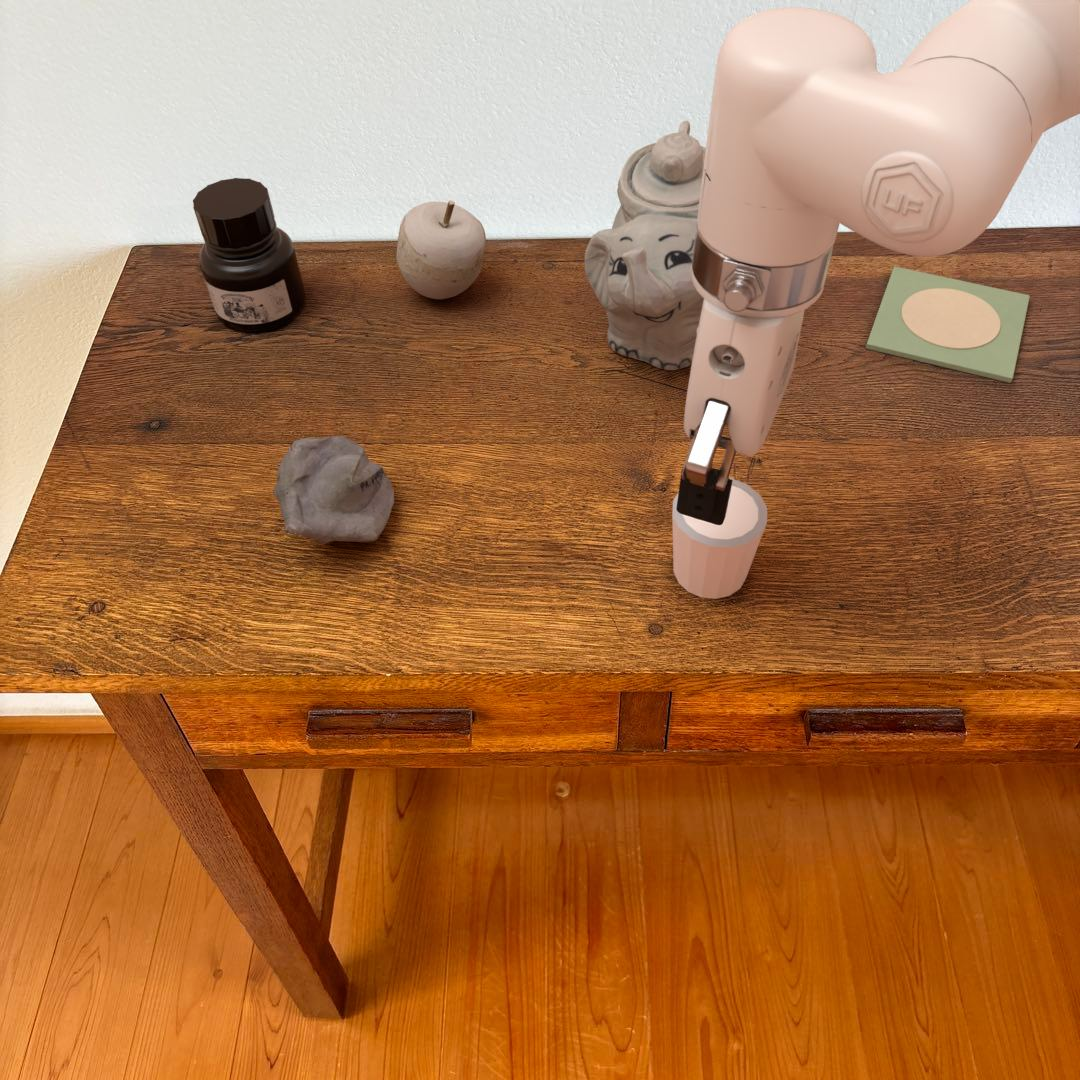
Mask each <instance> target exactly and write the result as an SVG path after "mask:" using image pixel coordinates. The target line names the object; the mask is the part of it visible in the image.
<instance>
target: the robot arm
mask: <svg viewBox="0 0 1080 1080" xmlns="http://www.w3.org/2000/svg"><path fill="white" fill-rule="evenodd" d="M877 68H878V62H877V52H876V49H875V46H874V44H873V42H872V39H871V37H870V35H868V33H866V31H865V30H864V29H863V28H862V27H861V26H860V25H858V24H857V23H856V22H854V21H852V20H850V19H848V18H847V17H845V16H842V15H840V14H837V13H834V12H831V11H828V10H822V9H818V8H809V7H799V6H798V7H796V6H795V7H793V6H791V7H777V8H770V9H766V10H762V11H758V12H756V13H753V14H751V15H749V16H747V17H745V18H744V19H741V21H739V22H738V23H736V24H735V25H734V26H733V27H732V28H731V29H730V30H729V32H727V35H726V36H725V37H724V40H723V42H722V44H721V46H720V48H719V51H718V54H717V60H716V65H715V71H714V80H713V88H712V96H711V103H710V111H709V121H708V126H707V127H708V128H707V136H706V144H705V148H706V152H705V160H704V168H703V176H702V184H701V192H700V200H699V209H698V217H697V224H696V233H695V241H694V249H693V257H692V265H691V280H692V283H693V285H694V287H695V288H696V290H697V292H698V293H699V294H700V295H701V296H702V297H703V298H704V300H703V306H702V311H701V316H700V321H699V326H698V328H697V337H696V342H695V348H694V353H693V359H692V364H690V371H689V378H688V383H687V391H686V398H685V405H684V414H683V431H684V434H685V436H686V437H687V438H688V440H690V442H689V447H688V450H687V454H686V457H685V461H684V464H683V467H682V469H681V472H680V479H679V487H678V492H679V493H678V492H677V494H678V500H677V507H676V510H677V511H678V512H679V513H680V514H683V515H686V516H689V517H693V518H695V519H699V520H702V521H706V522H709V523H712V524H715V525H722V524H723V522H724V519H725V517H726V512H727V507H728V502H729V497H730V492H731V487H732V482H733V480H731V479H729V478H730V474H731V471H732V469H733V465H734V462H735V461H734V460H735V457H736V454H739V455H743V456H746V457H753V456H755V455H756V454H757V453H759V452H760V451H761V449H762V448H763V446H764V444H765V442H766V439H767V436H768V434H769V433H770V430H771V427H772V425H773V422H774V421H775V418H776V415H777V413H778V411H779V408H780V406H781V404H782V400H783V398H784V396H785V393H786V392H787V389H788V385H789V383H790V381H791V377H792V376H793V375H792V374H793V371H794V368H795V363H796V357H797V353H798V347H799V342H800V336H801V331H802V326H803V321H804V315H805V311H806V310H807V309H809V308H810V307H811V306H813V305H815V303H816V302H817V301H818V300H819V299H820V297H821V296H822V294H823V292H824V289H825V285H826V284H825V283H826V280H827V276H828V271H829V268H830V264H831V260H832V256H833V252H834V248H835V245H836V240H837V235H838V231H839V228H840V224H841V226H844V227H845V228H847V229H849V230H850V231H852V232H854V233H856V234H858V235H859V236H861V237H862V238H864V239H866V240H868V241H870V242H871V243H874V244H876V245H878V246H880V247H883V248H885V249H888V250H889V251H893V252H897V253H899V254H903V255H907V256H911V257H912V256H914V257H922V258H923V257H938V256H943V255H948V254H951V253H953V252H956V251H959V250H961V249H963V248H965V247H967V245H969V244H971V243H973V242H974V241H975V240H976V239H978V237H980V236H981V235H982V234H983V233H984V232H985V231H986V230H987V229H988V228H989V226H990V225H991V224H992V223H993V221H994V220H995V219H996V217H997V216H998V215H999V213H1000V211H1001V210H1002V208H1003V206H1004V203H1005V202H1006V200H1007V198H1008V196H1009V195H1010V193H1011V191H1012V190H1013V188H1014V186H1015V184H1016V182H1017V180H1018V179H1019V178H1020V175H1021V174H1022V172H1023V170H1024V168H1025V165H1026V164H1027V162H1028V161H1029V159H1030V157H1031V155H1032V153H1033V151H1034V150H1035V148H1036V146H1037V145H1038V143H1039V141H1040V139H1041V137H1042V136H1043V133H1045V132H1046V131H1048V130H1050V129H1052V128H1054V127H1056V126H1058V125H1060V124H1061V123H1063V122H1065V121H1068V120H1069V119H1071V118H1073V117H1076V116H1078V115H1080V0H970V1H969V2H967V3H966V4H964V5H963V6H961V7H960V8H958V9H957V10H955V11H954V12H952V13H951V14H950V15H948V16H946V18H944V19H943V20H942V21H941V22H939V23H938V24H937V25H935V26H934V27H933V28H932V29H931V30H930V31H929V32H928V33H927V34H926V35H925V36H924V37H923V38H922V39H921V40H920V42H918V44H917V45H916V46H915V47H914V48H913V50H912V51H911V52H910V53H909V54H908V55H907V57H906V58H905V60H904V61H903V62H902V63H901V64H900V66H899V67H898V69H897V70H895V71H891V72H887V73H880V72H879V71H878V70H877ZM725 426H727V431H728V435H729V437H725V436H722V435H723V432H724V429H725ZM718 448H721V449H724V450H725V452H724V455H723V458H722V462H721V465H720V469H718V468H715V467H713V463H714V459H715V454H716V452H717V449H718Z"/></svg>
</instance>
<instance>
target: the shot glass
mask: <svg viewBox="0 0 1080 1080" xmlns="http://www.w3.org/2000/svg"><path fill="white" fill-rule="evenodd" d="M729 479H731V480H733V482H732V487H731V492H730V497H729V502H728V507H727V512H726V517H725V519H724V522H723V524H722V525H715V524H712V523H709V522H706V521H702V520H699V519H695V518H693V517H689V516H686V515H683V514H680V513H679V512H678V511H677V510H676V507H677V500H678V493H679V491H678V492H677V494H676V495H675V496H674V498H673V500H672V512H671V513H672V514H671V515H672V516H671V518H672V520H671V521H672V523H671V524H672V560H673V562H672V564H673V565H672V566H673V574H674V577H675V578H676V581H677V583H678V584H679V585H680V586H681V587H682V588H683V589H684V590H685V591H686V592H687V593H690V594H692V595H694V596H697V597H699V598H703V599H713V600H717V599H721V598H727V597H730V596H732V595H734V594H735V593H736V592H738V591H739V590H740V589H741V588H742V587H743V585H744V583H745V581H746V579H747V577H748V574H749V572H750V570H751V567H752V563H753V562H754V558H755V557H756V553H757V550H758V548H759V545H760V542H761V540H762V537H763V535H764V531H765V529H766V527H767V524H768V507H767V505H766V503H765V501H764V499H763V497H762V496H761V494H760V493H759V492H757V491H756V490H755V489H754V488H753V487H751V486H750V485H749V484H747V483H745V482H743V481H740V480H737V479H735V478H732V477H729Z"/></svg>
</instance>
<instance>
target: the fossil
mask: <svg viewBox="0 0 1080 1080" xmlns="http://www.w3.org/2000/svg"><path fill="white" fill-rule="evenodd" d="M273 496H274V497H275V499H276V500H277V501H278V502H279V507H280V512H281V516H282V519H283V522H284V532H285V533H286V534H288V533H289V534H290V535H291V536H296V537H299V536H300V537H304V538H307V539H309V540H314V541H317V542H319V544H322V545H323V544H328V543H332V542H357V543H367V542H375V541H377V540H378V539H379V537H380V536H381V534H382V532H383V531H384V530H385V528H386V525H387V523H388V521H389V518H390V515H391V512H392V509H393V506H394V504H395V491H394V487H393V485H392V482H391V480H390V479H389V477H388V475H387V474H386V472H385V470H384V467H383V466H382V465H380V464H378V463H374V462H372V461H371V460H369V458H368V456H367V453H366V448H365V447H362V446H361V445H360V444H359V443H358V442H356V441H354V440H351V439H350V438H348V437H345V436H343V435H337V436H336V435H335V436H330V435H329V436H326V437H320V438H318V437H317V438H315V437H314V438H313V437H302V438H300V439H296V440H294V441H293V442H292V444H291V445H290V447H289V448H288V449H287V451H286V453H285V455H284V456H283V458H282V459H281V461H280V465H279V468H278V469H277V473H276V484H275V486H274V488H273Z"/></svg>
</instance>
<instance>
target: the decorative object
mask: <svg viewBox="0 0 1080 1080" xmlns="http://www.w3.org/2000/svg"><path fill="white" fill-rule="evenodd" d="M485 232H486V231H485V228H484V226H483V224H482V222H481V220H479V219H478V218H477V217H476V216H475V215H474V214H472V213H471V212H470V211H468V210H467V209H465V208H463V207H461V206H459V205H456V202H455V201H454V200H448V202H446V201H427V202H424V203H421V204H419V205H416V206H414V207H412V208H411V209H410V210H408V211H407V213H405V214H404V216H403V218H402V220H401V222H400V225H399V231H398V236H397V247H396V253H395V255H396V263H397V266H398V269H399V272H400V274H401V275H402V277H403V279H404V280H405V282H406V283H407V284H408V286H409V287H410V288H411V289H412V290H413V291H414V292H416V293H417V294H419V295H421V296H422V297H425V298H429V299H432V300H433V299H434V300H446V299H450V298H454V297H456V296H458V295H460V294H462V293H464V292H465V291H466V290H467V289H468V288H470V286H471V285H472V284H473V283H474V282H476V280H477V278H478V277H479V275H480V274H481V270H482V267H483V263H484V258H485V254H486V249H487V235H486V233H485Z"/></svg>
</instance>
